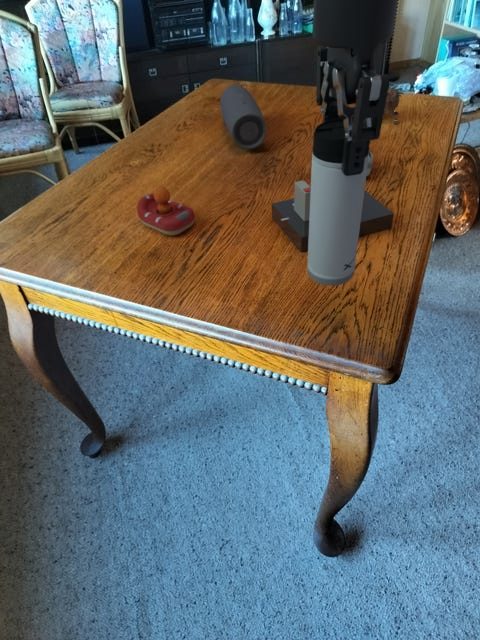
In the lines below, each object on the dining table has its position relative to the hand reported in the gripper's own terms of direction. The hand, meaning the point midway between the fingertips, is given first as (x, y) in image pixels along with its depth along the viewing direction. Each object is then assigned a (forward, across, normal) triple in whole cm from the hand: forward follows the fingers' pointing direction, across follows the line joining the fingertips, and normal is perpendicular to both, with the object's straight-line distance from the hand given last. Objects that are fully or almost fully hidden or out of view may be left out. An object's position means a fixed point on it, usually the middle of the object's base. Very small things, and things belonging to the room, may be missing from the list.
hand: (341, 160), depth 53 cm
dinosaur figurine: (+23, -70, +40) cm, 84 cm away
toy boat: (+23, -32, -22) cm, 45 cm away
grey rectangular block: (+20, -23, +3) cm, 31 cm away
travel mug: (+16, 0, 0) cm, 16 cm away
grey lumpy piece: (+23, -49, +20) cm, 58 cm away
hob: (+23, -24, +8) cm, 35 cm away
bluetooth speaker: (+23, -70, +1) cm, 74 cm away
